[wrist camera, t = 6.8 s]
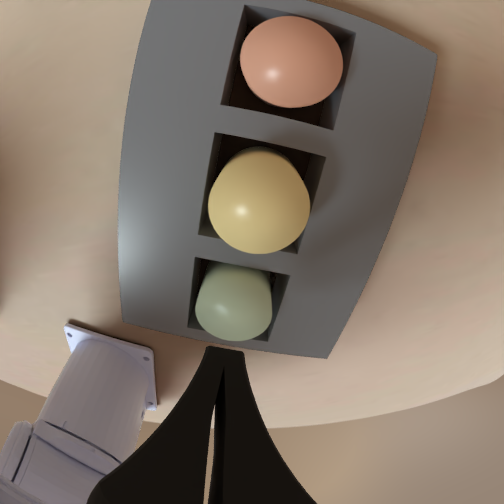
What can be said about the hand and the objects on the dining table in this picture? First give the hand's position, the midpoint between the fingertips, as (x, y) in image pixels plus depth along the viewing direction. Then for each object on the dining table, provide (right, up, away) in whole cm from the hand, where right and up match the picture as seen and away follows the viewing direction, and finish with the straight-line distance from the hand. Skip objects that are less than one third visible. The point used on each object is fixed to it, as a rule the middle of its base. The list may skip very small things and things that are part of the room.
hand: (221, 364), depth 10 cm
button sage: (0, +3, +6) cm, 6 cm away
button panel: (+1, +8, +4) cm, 9 cm away
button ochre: (+1, +7, +3) cm, 8 cm away
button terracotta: (+3, +13, +1) cm, 13 cm away
